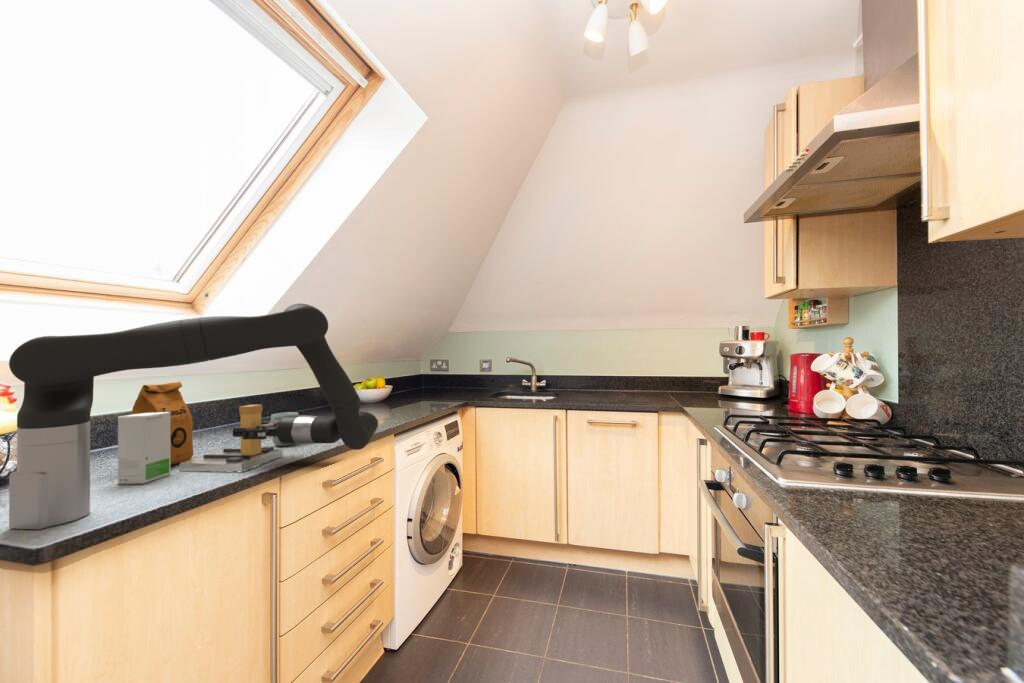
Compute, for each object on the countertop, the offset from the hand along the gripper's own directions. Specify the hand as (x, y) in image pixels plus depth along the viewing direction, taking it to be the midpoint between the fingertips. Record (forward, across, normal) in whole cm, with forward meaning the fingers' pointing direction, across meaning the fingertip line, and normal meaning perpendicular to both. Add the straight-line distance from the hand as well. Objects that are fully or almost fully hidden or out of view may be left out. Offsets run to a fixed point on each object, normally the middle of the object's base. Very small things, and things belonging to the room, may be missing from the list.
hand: (245, 429), depth 119 cm
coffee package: (+20, +4, +9) cm, 23 cm away
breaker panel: (+3, +1, +9) cm, 9 cm away
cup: (+3, -21, +9) cm, 23 cm away
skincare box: (+14, +16, +9) cm, 23 cm away
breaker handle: (-2, 0, +7) cm, 7 cm away
